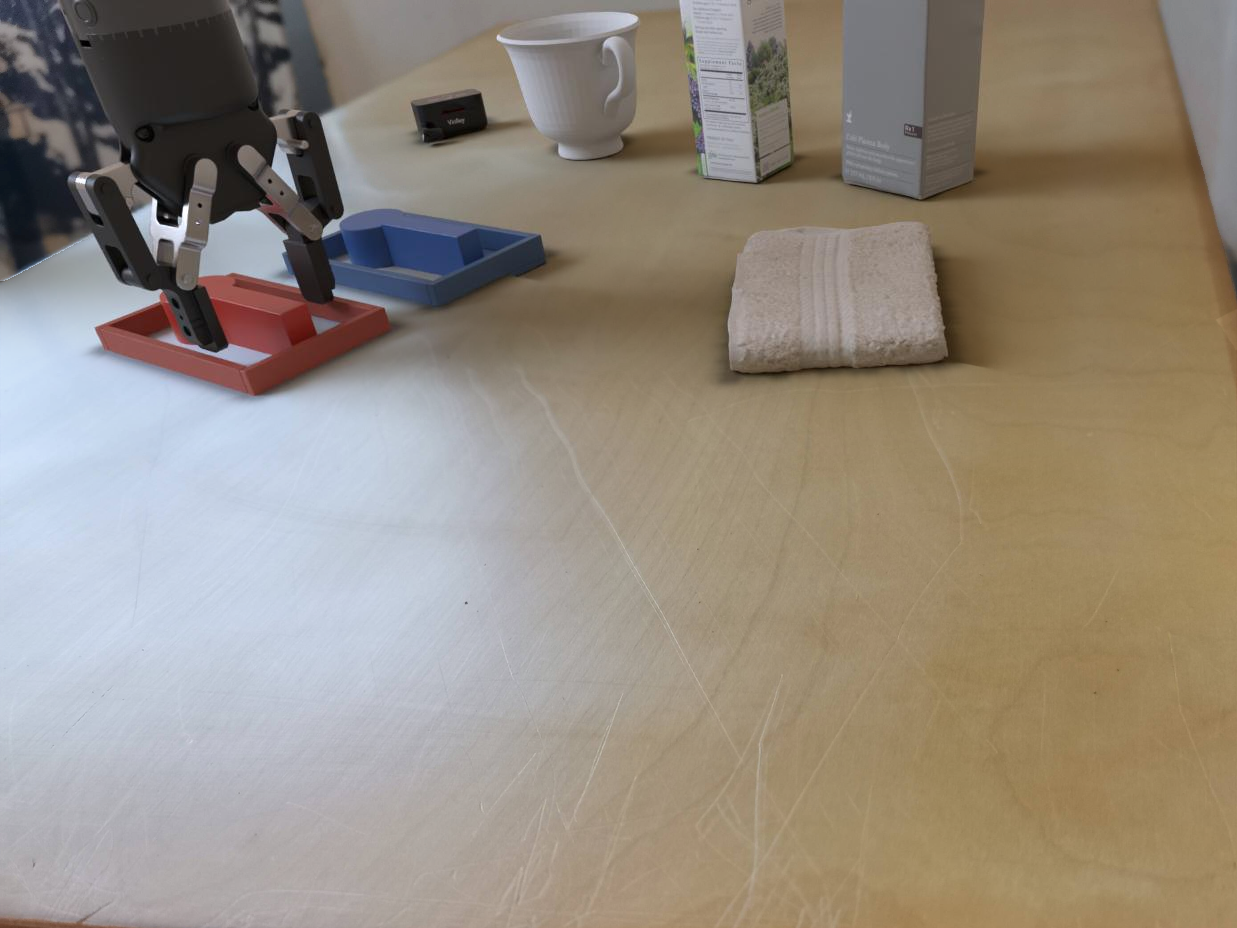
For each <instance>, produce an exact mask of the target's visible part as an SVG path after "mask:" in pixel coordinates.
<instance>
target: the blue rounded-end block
mask: <svg viewBox="0 0 1237 928" xmlns="http://www.w3.org/2000/svg"><path fill="white" fill-rule="evenodd" d="M404 212H405V211H403V210H400V209H397V208H376V209H375V208H374V209H370V210H365V211H361V212H357V213H353V214H352V215H349V216H346V217H345V218H343V219H342V220H341V221H340V222H339V223H338V227H339V230H341V233H342V236H343V239H344V242H345V245H346V249H347V255H348V258H349V261H350V264H355V265H360V266H365V267H370V268H375V269H384V268H389V267H392V266H393V267H398V268H402V269H408V270H411V271H417V272H422V273H428V274H433V275H437V276H441V277H442V276H444V275H447V274H449V273H451V272H453V271H455V270H457V269H460V268H462V267H464V266H466V265H468V264H470V263H473V262H475V261H477V260H479V259H481V258H483V257H484V254H483V250H482V246H481V242H480V238H479V234H478V230H477V228H472V227H466V226H460V225H454V224H448V223H442V222H436V221H430V220H424V219H418V218H413V217H407V216H405V214H404Z"/></svg>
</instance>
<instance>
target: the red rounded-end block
mask: <svg viewBox="0 0 1237 928" xmlns="http://www.w3.org/2000/svg"><path fill="white" fill-rule="evenodd" d="M197 284H198V285H202V286H205V287H206V290H207V292H208V295H209V297H210V300H211V302H212V305H213V307H214V309H215V312H216V314H217V317H218V319H219V322H220V324H221V327H222V329H223V332H224V334H225V336H226V339H227V341H228V344H230V345H234V346H237V347H241V348H245V349H248V350H252V351H254V352H255V351H256V352H259V353H261V354H266V355H270V356H272V355H274V354H276V353H278V352H281V351H283V350H285V349H287V348H289V347H291V346H294V345H296V344H298V343H300V342H302V341H304V340H307V339H309V338H311V337H313V336H315V335H317V334H318V333H317V330H316V327H315V324H314V321H313V318H312V316H311V315H310V312H309V310H308V307H307V304H306V303H302V302H298V301H294V300H290V299H286V298H281V297H277V296H273V295H269V294H265V293H260V292H256V291H252V290H248V289H243V288H239V287H238V285H237V283H236V281H235V279H234V278H232V277H229V276H226V275H219V274H217V275H216V274H215V275H214V274H213V275H204V276H198V283H197ZM158 297H159V302H160V301H161V304H162V306H163V308H164V310H165V313H166V315H167V317H168V320H169V322H170V324H171V326H170V327H171V329H172V331H173V333H174V336H175V338H176V340H177V342H179V343H180V344H183V345H188V346H198V345H197V344H194V343H190V342H189V341H188V340H187V339H186V338H185V337H184V336H183V335H182V333H181V330H180V328H179V325H178V323H177V321H176V318H175V316H174V314H173V312H172V309H171V307H170V305H169V302H168V300H167V298H166V296H165V294H164V292H163V291H161V292H160V293H159V295H158Z"/></svg>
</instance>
